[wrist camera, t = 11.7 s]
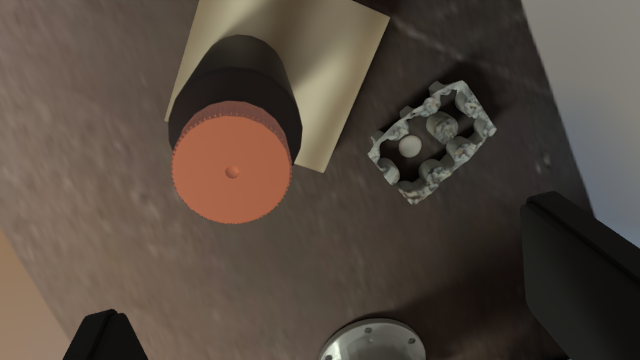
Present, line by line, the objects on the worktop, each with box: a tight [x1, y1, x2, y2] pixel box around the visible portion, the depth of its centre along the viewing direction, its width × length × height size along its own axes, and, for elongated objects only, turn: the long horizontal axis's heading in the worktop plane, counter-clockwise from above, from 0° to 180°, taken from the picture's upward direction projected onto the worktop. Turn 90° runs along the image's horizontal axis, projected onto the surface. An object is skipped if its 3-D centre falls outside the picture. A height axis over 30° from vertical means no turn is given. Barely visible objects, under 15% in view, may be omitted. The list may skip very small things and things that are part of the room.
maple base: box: [164, 0, 390, 173], centre depth 39 cm, size 14×14×3 cm
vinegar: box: [168, 35, 303, 225], centre depth 28 cm, size 7×7×20 cm
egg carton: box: [368, 81, 497, 205], centre depth 43 cm, size 11×8×4 cm
